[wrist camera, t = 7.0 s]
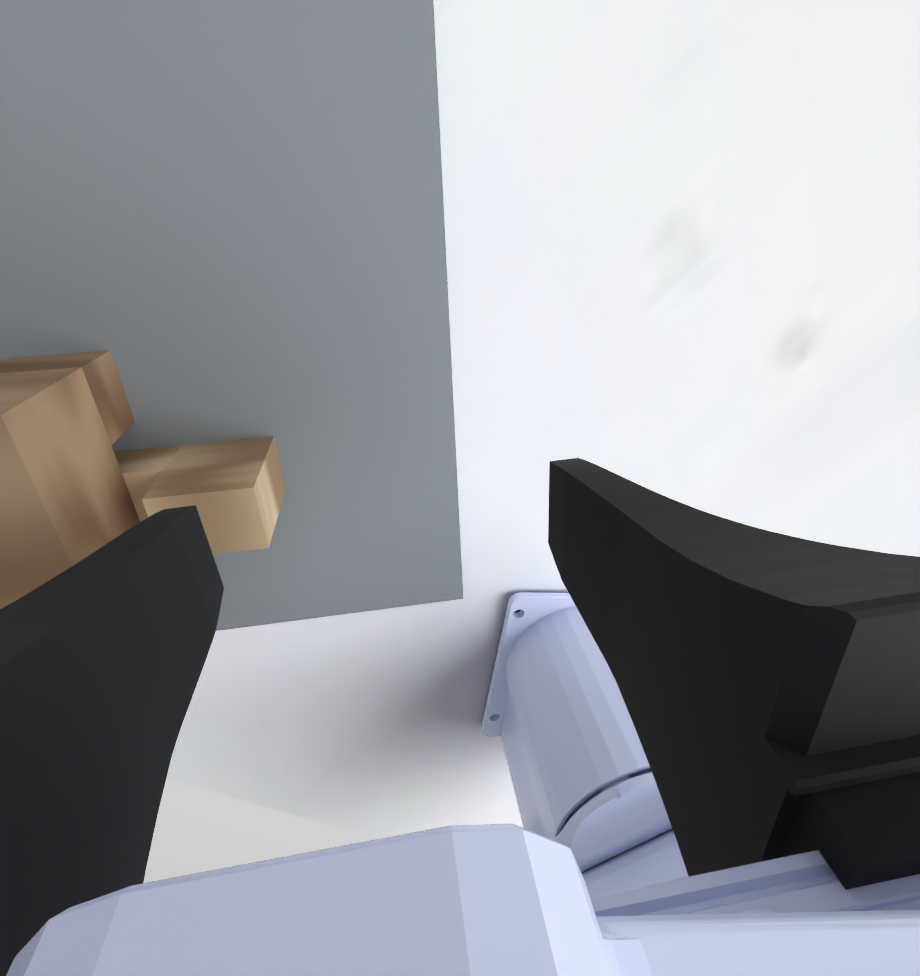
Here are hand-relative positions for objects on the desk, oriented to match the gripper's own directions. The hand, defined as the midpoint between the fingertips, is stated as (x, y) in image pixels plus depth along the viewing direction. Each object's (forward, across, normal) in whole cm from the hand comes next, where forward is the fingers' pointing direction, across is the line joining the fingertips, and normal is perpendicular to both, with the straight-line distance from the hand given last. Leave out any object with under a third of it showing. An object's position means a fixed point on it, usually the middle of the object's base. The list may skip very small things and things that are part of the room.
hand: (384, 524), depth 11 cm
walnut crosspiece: (+9, +10, +2) cm, 14 cm away
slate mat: (+10, +6, -1) cm, 12 cm away
